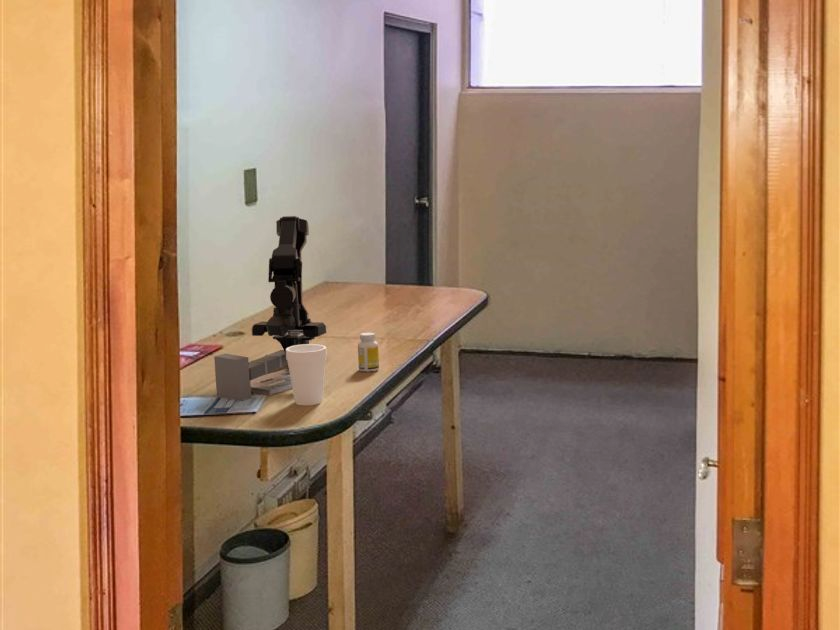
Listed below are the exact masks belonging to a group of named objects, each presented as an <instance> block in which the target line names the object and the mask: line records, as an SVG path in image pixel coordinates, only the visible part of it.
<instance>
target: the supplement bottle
mask: <svg viewBox="0 0 840 630" xmlns="http://www.w3.org/2000/svg"><path fill="white" fill-rule="evenodd" d="M359 339H360V341H359V342H358V343H357V354H358V370H359V371H360V372H362V371H366V372H367V373H370V371H373V372H376V371H379V369H380V360H379V359H380V358H379V355H380V354H379V343H378V342H377V341H376V333H374V332H363V333H360V335H359Z"/></svg>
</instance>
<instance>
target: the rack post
mask: <svg viewBox="0 0 840 630" xmlns="http://www.w3.org/2000/svg"><path fill="white" fill-rule="evenodd" d="M213 357H214V360H213V361H214V372H215V392H216V397H219V398H222V397H223V399H227V400H228V399H229V400H232V399H234V401H238V400H239V401H238V402H240V400H241V401H243V400H244V401H245V400H247V399H250V398H252V397H251V393H250V378H249V362H250V361H249V356H243V355H237V354H231V353H230V354H229V353H222V354H218V355H215V356H213Z"/></svg>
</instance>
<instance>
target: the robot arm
mask: <svg viewBox="0 0 840 630" xmlns="http://www.w3.org/2000/svg"><path fill="white" fill-rule="evenodd" d="M275 223H276V228H275V229H276V236H278V237H279V238H278V246H277V247H276V248H274V249H273V250H272V253H271V257H269V260H268V283H274V287H273V288H272V291H271V292H270V296H269V298H270V302H271V304H272V305H273V306H274V307H273V314H272V316H271V317H270V318H269V319H268V320H267V321H259V322H257V323H254V324H253V325H252V327H251V335H252V336H253V337H255V336H257V337H262V336H264V335H265V333H267V334H268V337H272V339H273V340H276V341H277V342H278V343H280V346H281V347H282V348H283V349H282V350H284V352H285V354H286V349H287V348H288V347H291V346H295V345H302V344H310V341H312V340H315V338H317V337H321V336H323V335H324V334H326V333H327V325H325V323H324V322H317V321H314V322H312V319H311V318H309V317H310V316H309V315H310V314H309V312H308V310H307V309H306V306H305V305H304V304H303V278H302V277H303V262H302V251H303V249H304V247H305V246H306V244H307V238H308V236H309V234H310V233H309V232H310V231H309V227H310V226H309V222H308V220H307V219H303V218H300V217H299V216H297V215H292V216H291V215H288V216H281V217H279V219H278V220H276V221H275Z"/></svg>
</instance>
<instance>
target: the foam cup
mask: <svg viewBox="0 0 840 630" xmlns="http://www.w3.org/2000/svg"><path fill="white" fill-rule="evenodd" d="M327 355H328V354H327V346H325V345H324V344H319V343H317V344H315V343H309V344H302V345H295V346H291V347H288V348H287V349H286V359H287V361H288V365H287V366H288V370H289V372H290V378H291V383H292V389H291V390H292V392H293V397H294V398H293V399H294V402H295V404H296V405H298V406H314V405H320V404H321V403H322V402H323V397H324V385H325V384H324V383H325V382H324V381H325V374H326V373H325V372H326V361H327V360H326V359H327Z"/></svg>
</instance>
